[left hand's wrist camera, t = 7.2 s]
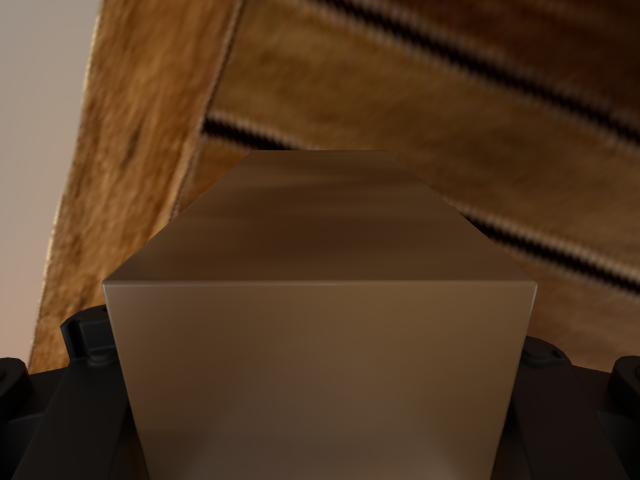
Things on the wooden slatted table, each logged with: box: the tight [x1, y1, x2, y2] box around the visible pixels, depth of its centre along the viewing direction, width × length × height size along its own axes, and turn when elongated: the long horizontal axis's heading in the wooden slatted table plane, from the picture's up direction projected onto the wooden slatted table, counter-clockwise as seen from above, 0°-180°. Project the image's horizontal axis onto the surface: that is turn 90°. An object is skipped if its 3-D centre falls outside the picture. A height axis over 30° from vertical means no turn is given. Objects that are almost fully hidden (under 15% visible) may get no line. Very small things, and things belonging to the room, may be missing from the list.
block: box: [102, 151, 538, 480], centre depth 11 cm, size 6×7×11 cm
